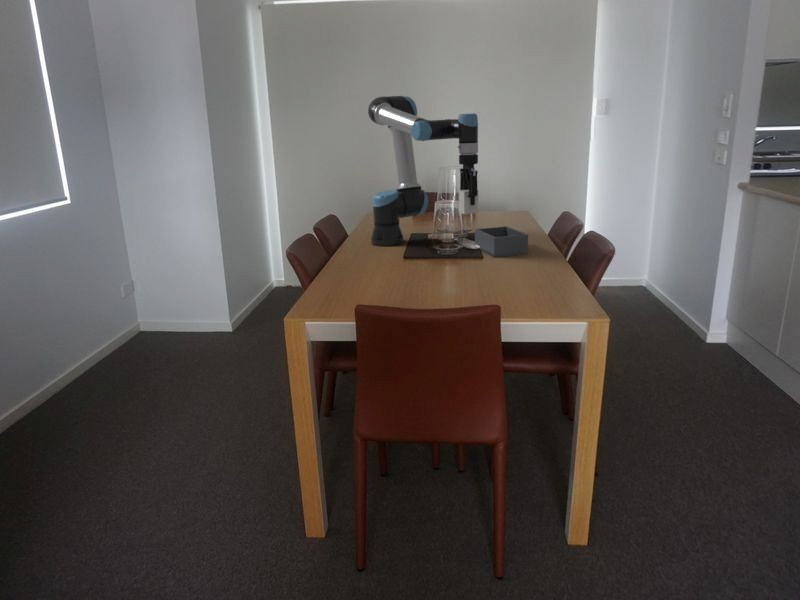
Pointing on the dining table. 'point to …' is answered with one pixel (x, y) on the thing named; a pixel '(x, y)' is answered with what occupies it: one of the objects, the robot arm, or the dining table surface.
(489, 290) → the dining table surface
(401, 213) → the robot arm
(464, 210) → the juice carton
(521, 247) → the bin
